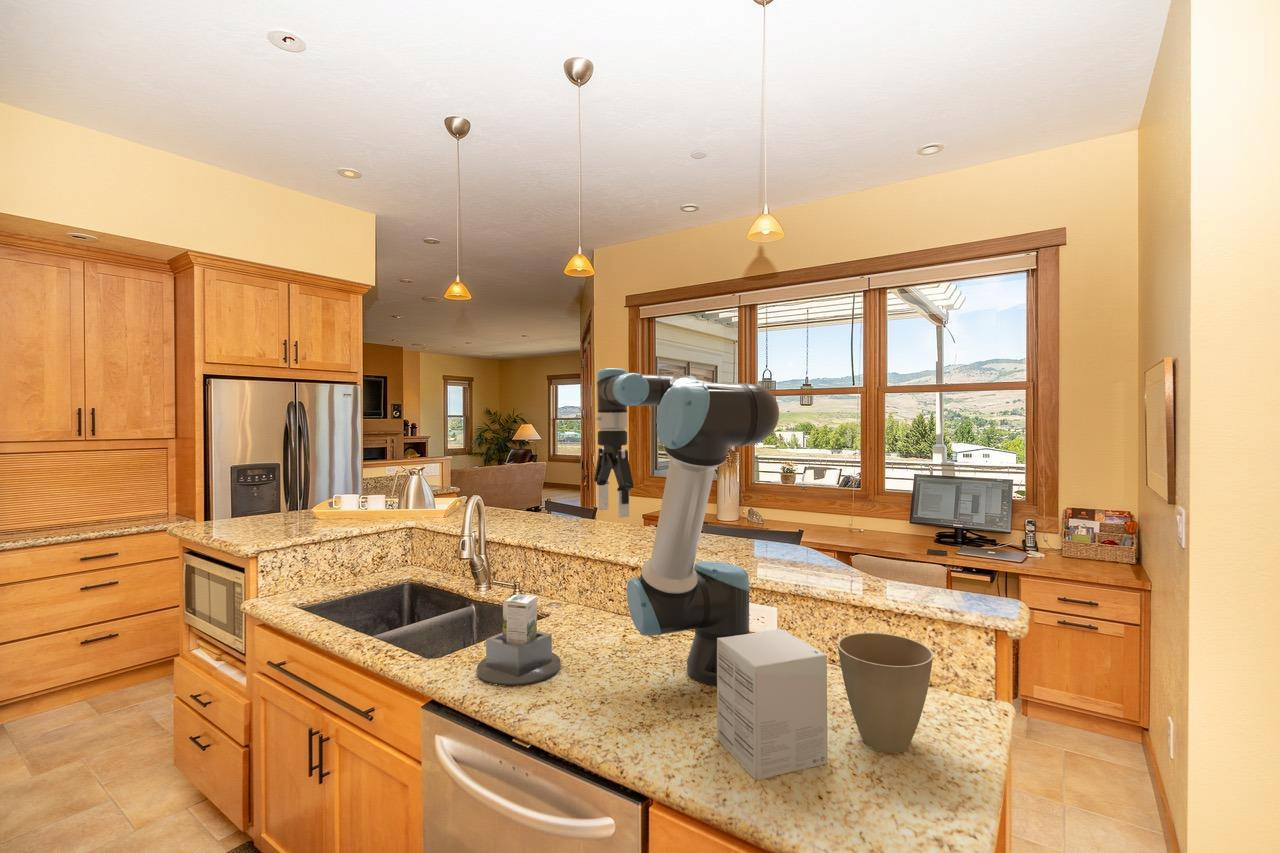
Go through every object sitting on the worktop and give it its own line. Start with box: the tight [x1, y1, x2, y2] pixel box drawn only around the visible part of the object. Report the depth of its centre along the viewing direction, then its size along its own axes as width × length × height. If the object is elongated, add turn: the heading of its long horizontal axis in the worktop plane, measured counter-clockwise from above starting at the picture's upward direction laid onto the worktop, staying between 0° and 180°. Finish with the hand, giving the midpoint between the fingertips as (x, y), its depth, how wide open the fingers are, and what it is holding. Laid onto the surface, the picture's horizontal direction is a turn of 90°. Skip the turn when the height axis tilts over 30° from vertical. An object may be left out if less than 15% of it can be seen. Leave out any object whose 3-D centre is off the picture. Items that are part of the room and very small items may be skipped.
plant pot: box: [837, 632, 934, 754], centre depth 102 cm, size 15×15×16 cm
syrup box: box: [502, 594, 538, 646], centre depth 134 cm, size 6×6×14 cm
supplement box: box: [716, 628, 829, 781], centre depth 100 cm, size 13×13×18 cm
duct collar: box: [476, 630, 562, 687], centre depth 134 cm, size 18×18×7 cm
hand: (612, 513), depth 155 cm, fingers open, 13 cm apart
